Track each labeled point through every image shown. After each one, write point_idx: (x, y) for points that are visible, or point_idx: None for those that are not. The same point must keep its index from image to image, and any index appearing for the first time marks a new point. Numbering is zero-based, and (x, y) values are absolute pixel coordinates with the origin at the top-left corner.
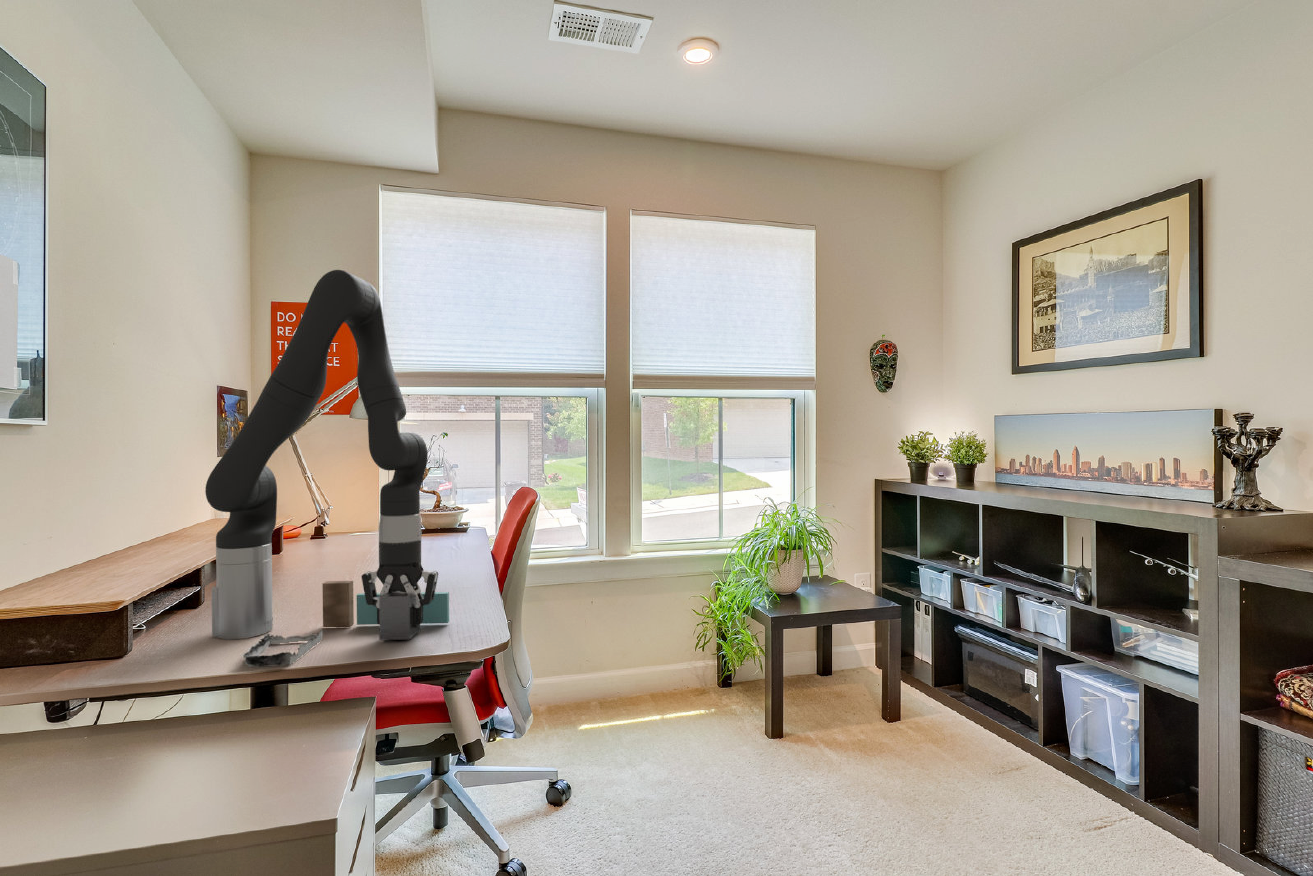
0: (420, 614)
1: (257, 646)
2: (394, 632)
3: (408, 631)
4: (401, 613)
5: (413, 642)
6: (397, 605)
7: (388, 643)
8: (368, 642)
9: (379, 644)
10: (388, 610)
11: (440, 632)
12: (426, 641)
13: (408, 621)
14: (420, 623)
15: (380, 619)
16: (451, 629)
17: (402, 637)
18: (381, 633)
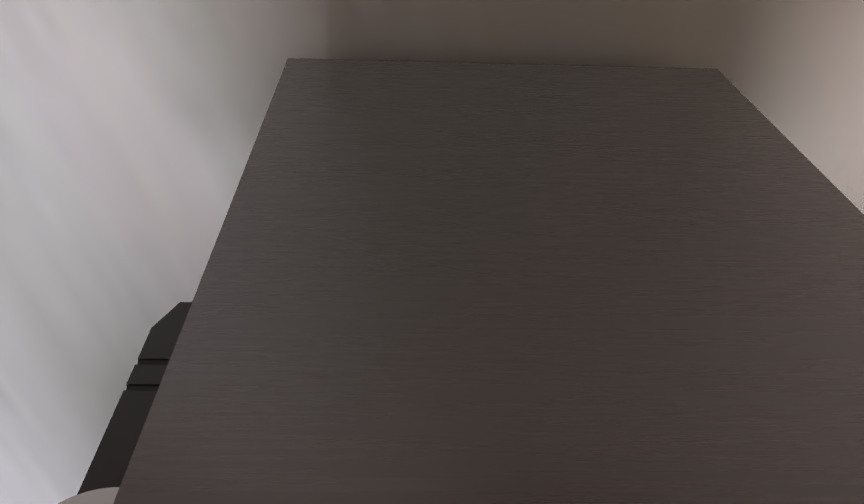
0: (118, 411)
1: None
2: (517, 98)
3: (288, 99)
4: (402, 267)
5: (252, 66)
6: (527, 413)
7: (581, 49)
8: (845, 108)
9: (693, 15)
10: (745, 325)
11: (91, 389)
12: (90, 94)
13: (262, 177)
14: (177, 323)
15: (838, 207)
16: (21, 464)
17: (390, 69)
18: (719, 103)
